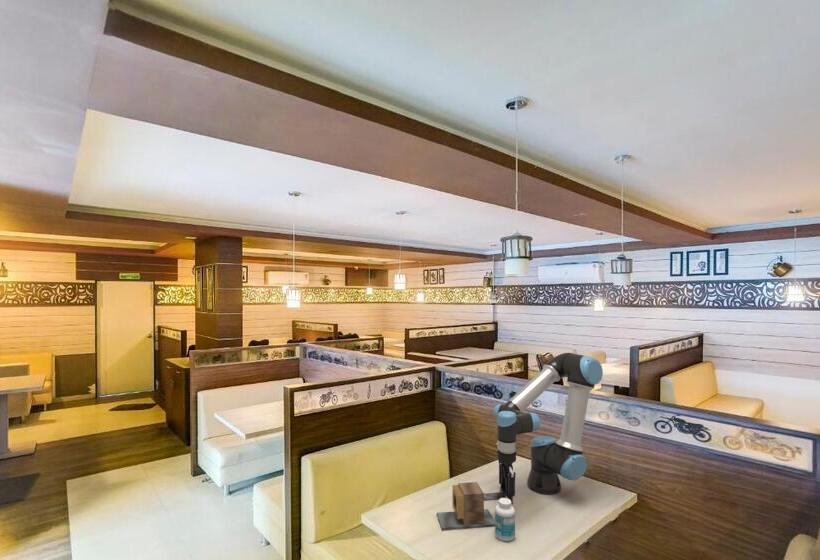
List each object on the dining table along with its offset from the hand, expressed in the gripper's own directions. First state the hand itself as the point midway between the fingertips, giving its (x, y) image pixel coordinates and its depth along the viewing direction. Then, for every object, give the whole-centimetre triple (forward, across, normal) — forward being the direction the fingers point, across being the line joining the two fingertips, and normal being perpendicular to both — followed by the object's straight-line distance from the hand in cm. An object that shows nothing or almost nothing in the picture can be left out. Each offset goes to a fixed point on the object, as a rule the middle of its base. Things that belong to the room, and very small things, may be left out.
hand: (506, 507), depth 172 cm
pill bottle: (+4, +12, -5) cm, 14 cm away
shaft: (-2, 0, -10) cm, 10 cm away
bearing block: (+4, 0, -17) cm, 18 cm away
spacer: (+1, 0, -20) cm, 20 cm away
